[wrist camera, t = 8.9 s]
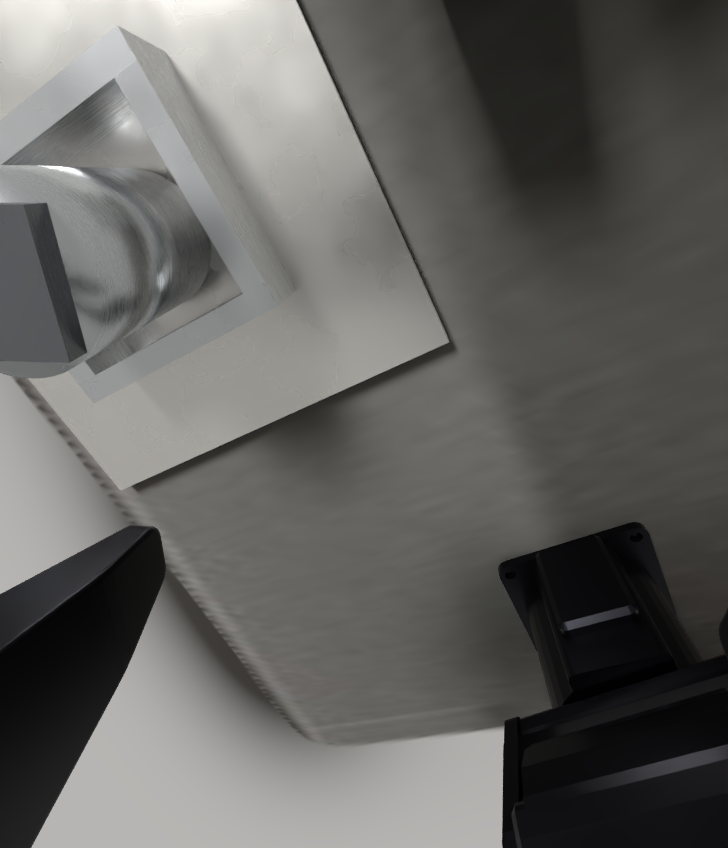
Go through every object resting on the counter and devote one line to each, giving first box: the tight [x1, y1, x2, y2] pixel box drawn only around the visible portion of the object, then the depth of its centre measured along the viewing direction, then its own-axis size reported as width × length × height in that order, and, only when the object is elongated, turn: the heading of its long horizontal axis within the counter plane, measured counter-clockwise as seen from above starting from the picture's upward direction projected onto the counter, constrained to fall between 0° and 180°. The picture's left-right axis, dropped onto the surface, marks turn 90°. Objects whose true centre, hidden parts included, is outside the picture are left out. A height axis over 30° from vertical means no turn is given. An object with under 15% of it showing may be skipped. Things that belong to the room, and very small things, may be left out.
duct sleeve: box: [0, 165, 211, 379], centre depth 13 cm, size 5×5×8 cm
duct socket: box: [0, 0, 449, 490], centre depth 16 cm, size 16×16×3 cm
